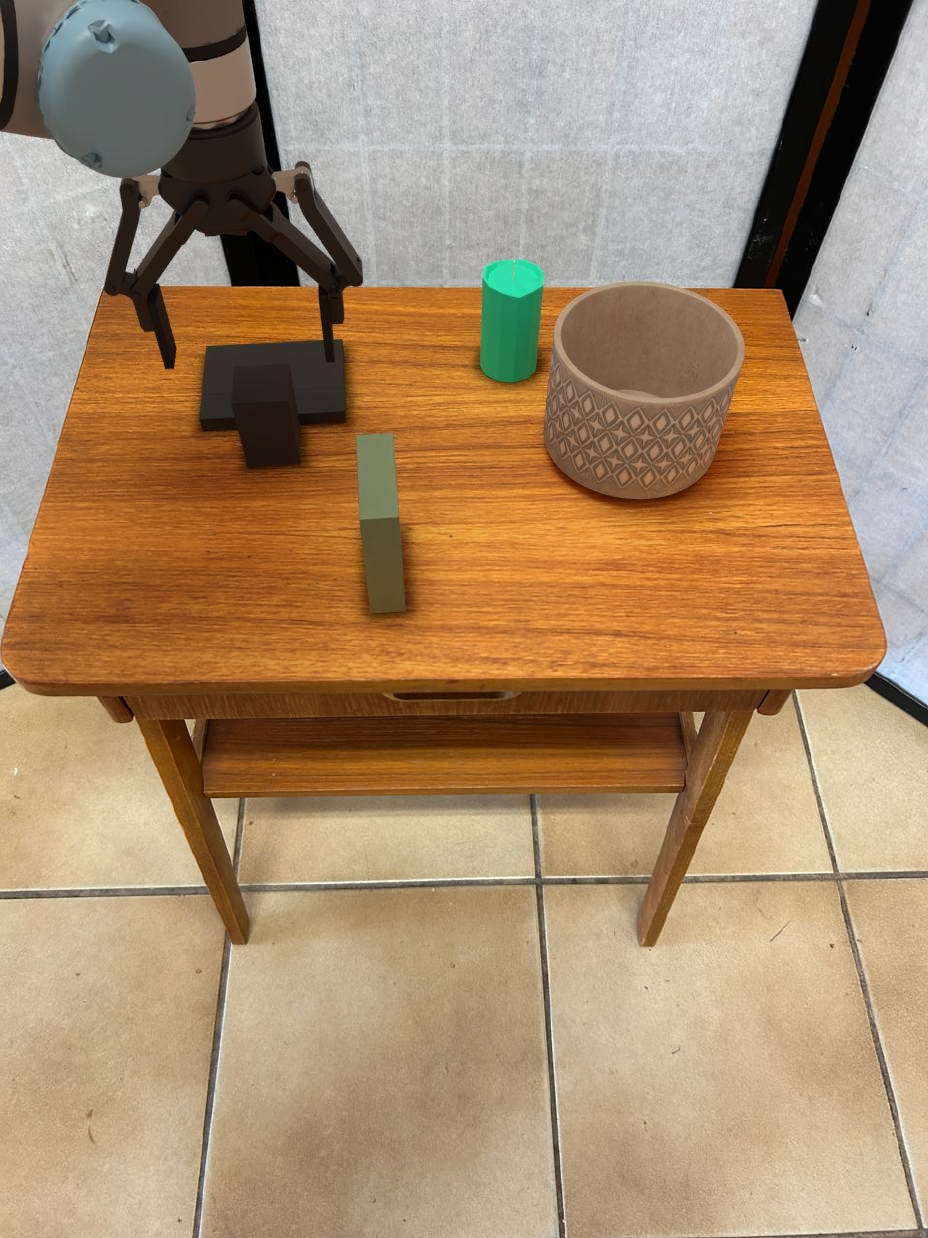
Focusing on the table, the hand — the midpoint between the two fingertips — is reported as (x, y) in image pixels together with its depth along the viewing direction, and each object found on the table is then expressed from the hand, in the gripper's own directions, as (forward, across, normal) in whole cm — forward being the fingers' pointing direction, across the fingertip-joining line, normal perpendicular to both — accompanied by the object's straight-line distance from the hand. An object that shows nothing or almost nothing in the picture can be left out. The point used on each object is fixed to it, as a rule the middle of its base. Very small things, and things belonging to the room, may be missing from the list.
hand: (251, 355), depth 82 cm
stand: (+11, -10, +16) cm, 22 cm away
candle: (+11, -24, -11) cm, 29 cm away
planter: (+11, -34, +2) cm, 36 cm away
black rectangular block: (+11, 0, -2) cm, 11 cm away
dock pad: (+11, 0, -9) cm, 14 cm away
